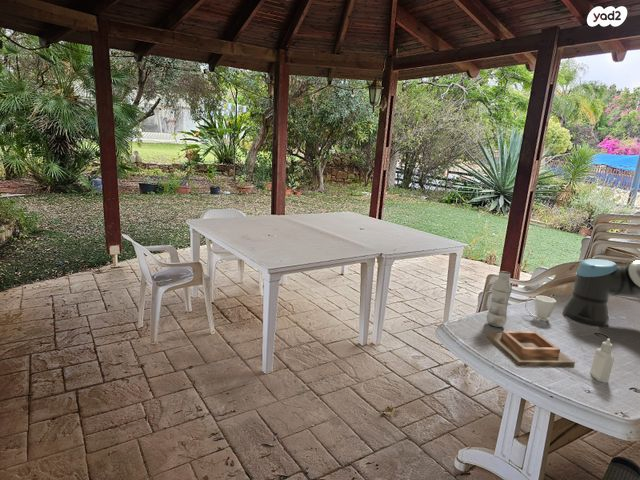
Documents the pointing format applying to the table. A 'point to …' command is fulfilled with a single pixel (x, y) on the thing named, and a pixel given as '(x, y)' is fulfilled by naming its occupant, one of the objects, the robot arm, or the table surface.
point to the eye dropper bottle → (602, 362)
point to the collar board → (529, 349)
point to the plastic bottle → (499, 300)
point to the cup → (543, 307)
